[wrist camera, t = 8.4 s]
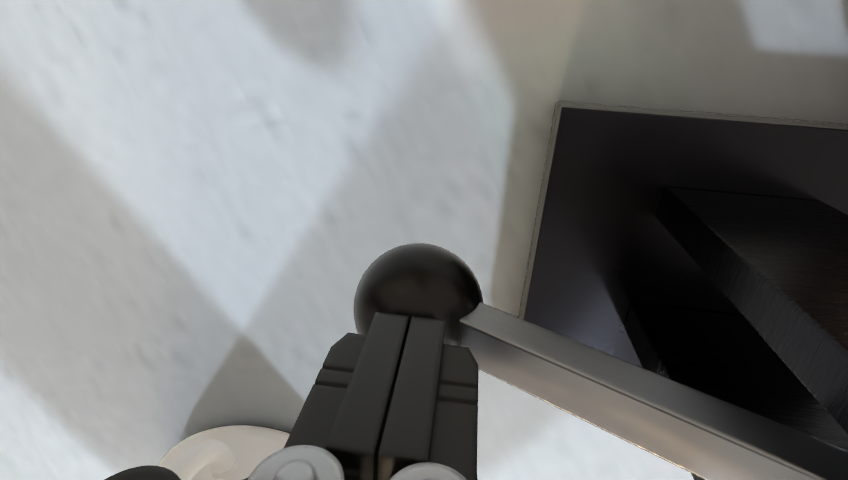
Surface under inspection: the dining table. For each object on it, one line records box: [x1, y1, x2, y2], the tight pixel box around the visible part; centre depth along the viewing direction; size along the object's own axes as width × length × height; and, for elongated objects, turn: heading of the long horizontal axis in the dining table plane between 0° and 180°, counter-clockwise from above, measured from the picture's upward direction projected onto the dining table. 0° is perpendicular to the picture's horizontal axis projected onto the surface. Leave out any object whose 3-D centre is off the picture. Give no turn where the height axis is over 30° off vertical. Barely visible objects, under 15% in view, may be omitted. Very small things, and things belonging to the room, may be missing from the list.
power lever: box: [354, 243, 848, 480], centre depth 9 cm, size 13×3×3 cm, turn 87°
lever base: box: [518, 101, 848, 480], centre depth 10 cm, size 11×9×12 cm
